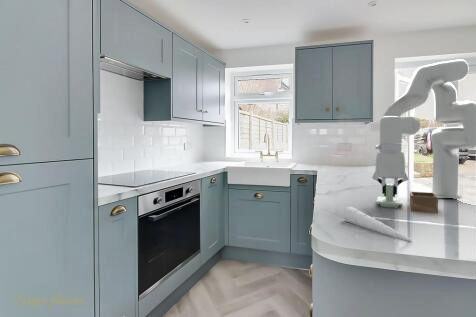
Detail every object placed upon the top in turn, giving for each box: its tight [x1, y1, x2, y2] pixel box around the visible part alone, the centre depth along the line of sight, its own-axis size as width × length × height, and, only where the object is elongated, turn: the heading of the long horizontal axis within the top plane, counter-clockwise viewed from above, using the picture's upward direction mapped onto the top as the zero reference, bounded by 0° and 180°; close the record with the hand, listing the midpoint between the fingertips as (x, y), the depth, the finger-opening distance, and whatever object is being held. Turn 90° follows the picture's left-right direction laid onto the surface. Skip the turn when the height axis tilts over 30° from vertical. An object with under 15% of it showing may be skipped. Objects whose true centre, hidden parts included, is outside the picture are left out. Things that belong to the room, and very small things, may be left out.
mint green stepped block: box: [376, 183, 403, 209], centre depth 119 cm, size 12×9×8 cm
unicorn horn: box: [341, 206, 413, 243], centre depth 86 cm, size 5×24×5 cm, turn 16°
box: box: [409, 191, 439, 214], centre depth 111 cm, size 11×8×6 cm
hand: (389, 195), depth 119 cm, fingers closed on mint green stepped block
